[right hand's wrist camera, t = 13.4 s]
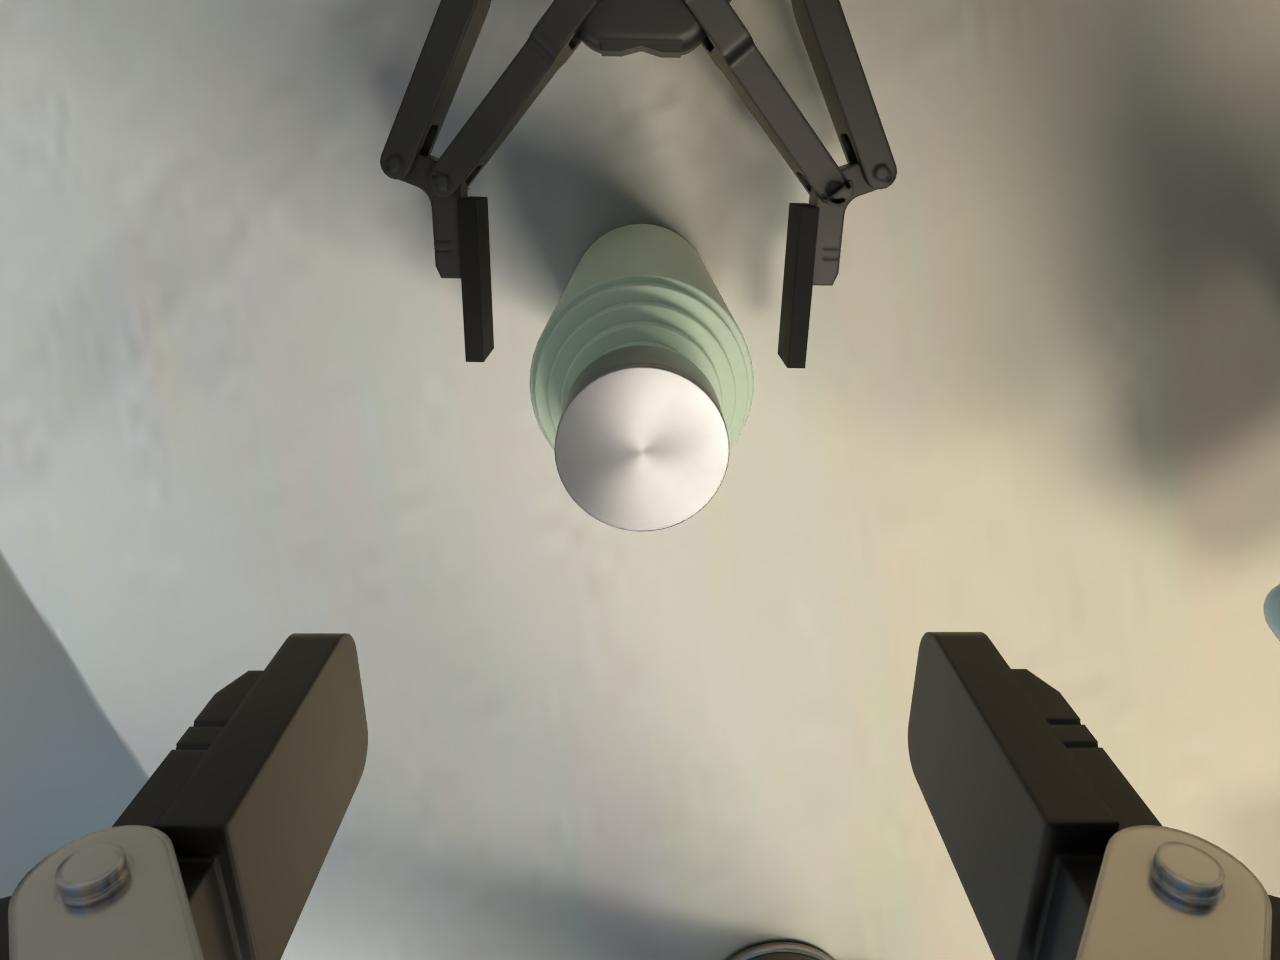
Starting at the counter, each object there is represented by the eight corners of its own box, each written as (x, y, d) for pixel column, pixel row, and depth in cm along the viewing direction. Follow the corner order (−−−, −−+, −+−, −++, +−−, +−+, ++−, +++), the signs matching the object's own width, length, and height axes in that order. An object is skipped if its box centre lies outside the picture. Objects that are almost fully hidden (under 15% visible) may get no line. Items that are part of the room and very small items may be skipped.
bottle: (631, 193, 41) (621, 244, 19) (738, 285, 43) (839, 428, 21) (544, 304, 43) (447, 465, 21) (650, 388, 45) (659, 618, 23)
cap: (630, 310, 22) (629, 329, 20) (753, 412, 23) (766, 440, 21) (530, 433, 23) (519, 463, 21) (652, 525, 24) (653, 562, 22)
